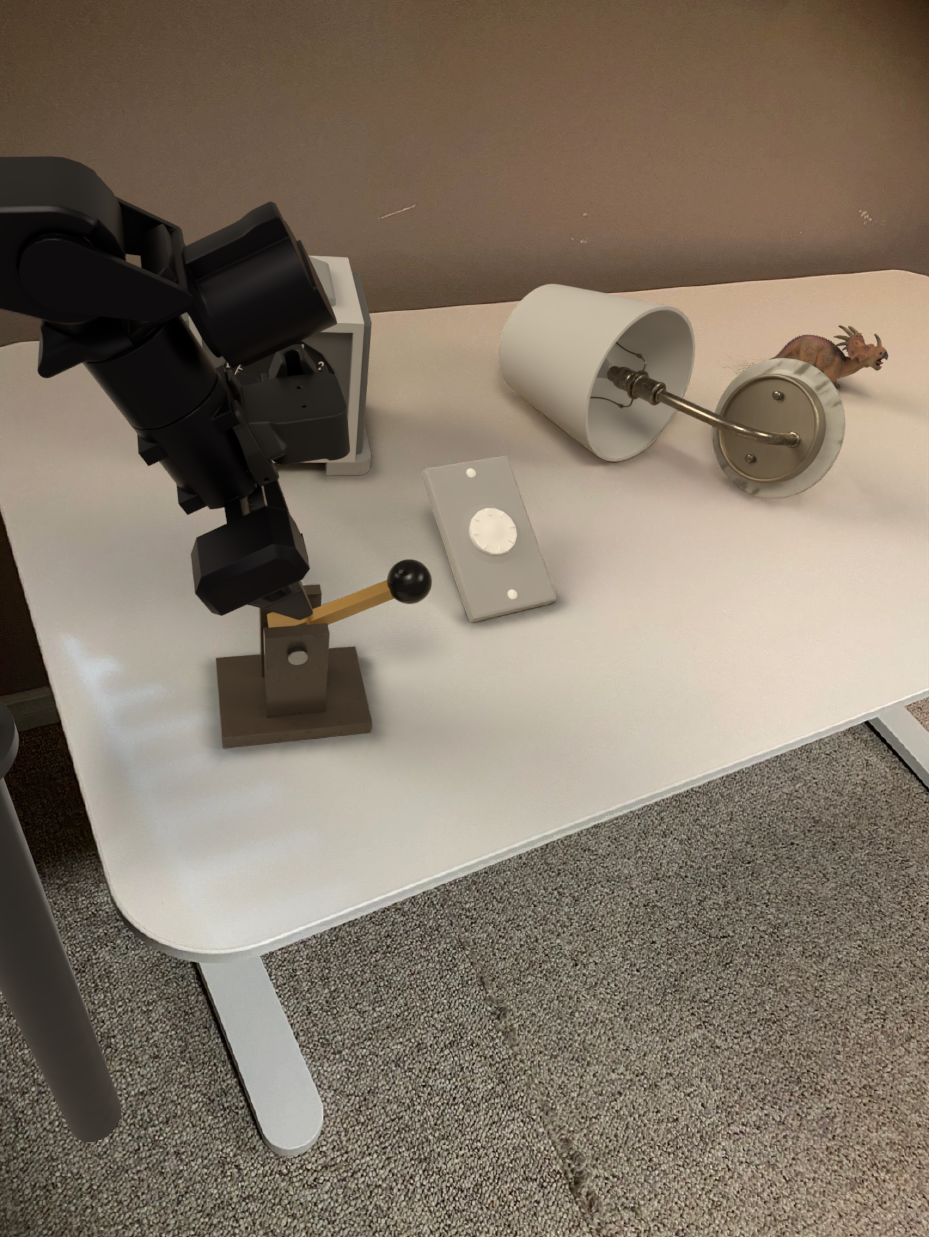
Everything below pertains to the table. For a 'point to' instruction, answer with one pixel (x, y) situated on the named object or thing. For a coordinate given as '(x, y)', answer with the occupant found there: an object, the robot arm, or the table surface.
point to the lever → (369, 596)
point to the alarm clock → (333, 355)
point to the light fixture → (665, 388)
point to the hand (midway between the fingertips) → (295, 568)
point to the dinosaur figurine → (836, 353)
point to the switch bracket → (291, 686)
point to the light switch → (488, 537)
